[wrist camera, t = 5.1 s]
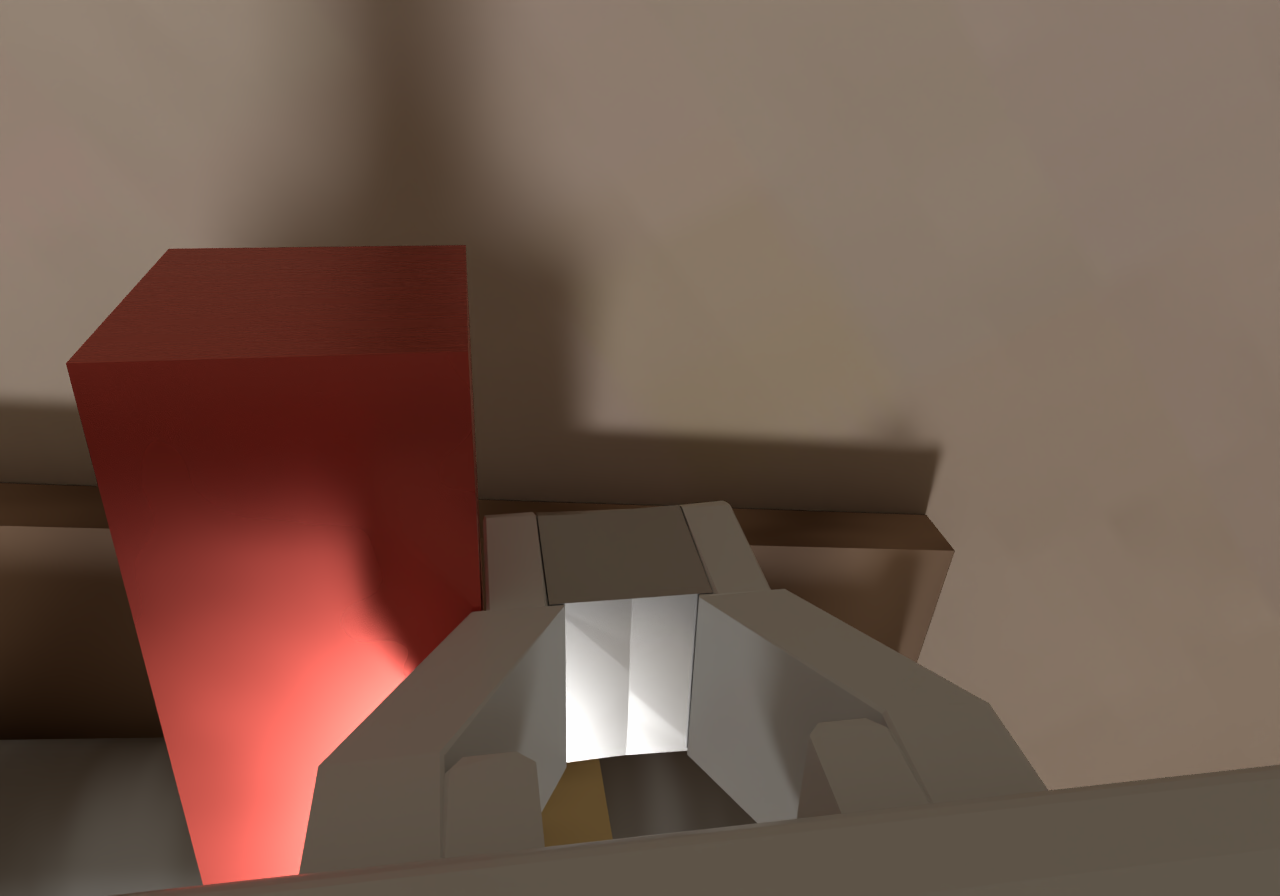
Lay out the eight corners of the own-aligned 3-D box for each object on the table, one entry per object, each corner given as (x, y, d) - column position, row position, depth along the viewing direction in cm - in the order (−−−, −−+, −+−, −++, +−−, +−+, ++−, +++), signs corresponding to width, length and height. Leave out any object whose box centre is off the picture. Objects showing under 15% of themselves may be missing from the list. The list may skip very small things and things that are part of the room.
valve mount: (926, 514, 23) (1172, 823, 15) (814, 866, 28) (951, 1229, 20) (-150, 477, 18) (-611, 896, 10) (-37, 906, 24) (-283, 1395, 16)
